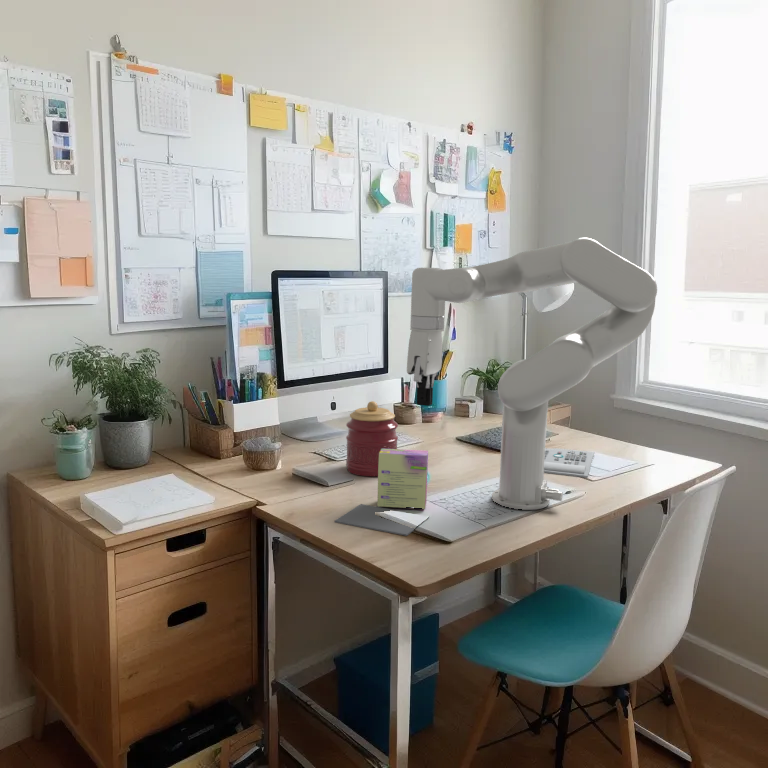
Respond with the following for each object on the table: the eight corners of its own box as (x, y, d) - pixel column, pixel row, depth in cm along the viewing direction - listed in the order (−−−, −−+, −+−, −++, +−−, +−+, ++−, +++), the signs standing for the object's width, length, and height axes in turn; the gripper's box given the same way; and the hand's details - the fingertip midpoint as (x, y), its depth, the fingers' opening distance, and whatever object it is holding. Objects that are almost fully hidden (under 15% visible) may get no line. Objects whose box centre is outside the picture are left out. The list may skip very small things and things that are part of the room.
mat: (429, 517, 150) (429, 516, 150) (406, 535, 140) (406, 534, 140) (360, 505, 157) (361, 503, 157) (334, 522, 147) (334, 520, 147)
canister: (346, 477, 177) (346, 406, 174) (345, 462, 190) (345, 396, 187) (399, 477, 178) (400, 406, 175) (395, 462, 190) (396, 396, 188)
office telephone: (589, 470, 179) (508, 462, 186) (588, 480, 180) (507, 471, 186) (595, 447, 201) (522, 440, 207) (594, 456, 201) (521, 449, 208)
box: (426, 502, 160) (428, 449, 158) (425, 509, 154) (427, 455, 153) (379, 500, 161) (380, 447, 159) (377, 507, 155) (378, 453, 154)
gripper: (424, 320, 170) (422, 397, 173) (397, 325, 156) (395, 408, 160) (454, 322, 167) (451, 401, 170) (430, 327, 153) (427, 412, 156)
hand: (424, 404), depth 165 cm, fingers closed
